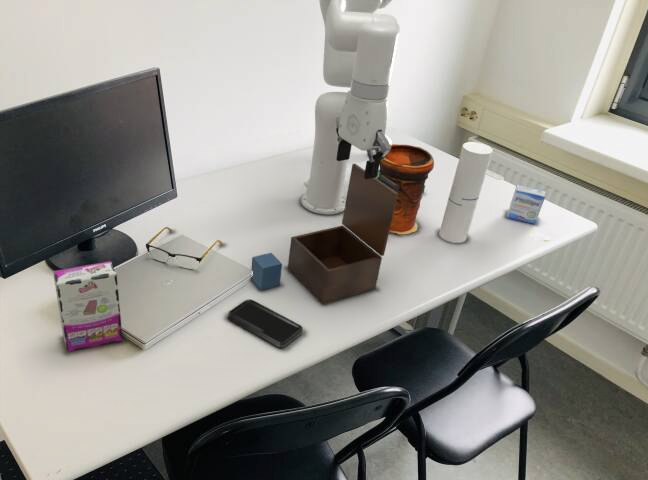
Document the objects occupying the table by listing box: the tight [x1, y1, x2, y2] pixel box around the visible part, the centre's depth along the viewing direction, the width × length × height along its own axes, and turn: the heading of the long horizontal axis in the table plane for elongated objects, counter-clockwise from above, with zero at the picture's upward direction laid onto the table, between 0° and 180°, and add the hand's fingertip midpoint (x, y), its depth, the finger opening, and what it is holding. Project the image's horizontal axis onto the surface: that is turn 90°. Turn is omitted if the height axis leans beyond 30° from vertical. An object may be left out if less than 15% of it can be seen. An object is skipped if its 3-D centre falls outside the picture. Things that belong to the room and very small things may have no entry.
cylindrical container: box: [438, 141, 494, 244], centre depth 167 cm, size 7×7×25 cm
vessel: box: [379, 143, 435, 236], centre depth 172 cm, size 14×14×20 cm
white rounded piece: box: [372, 134, 393, 155], centre depth 211 cm, size 10×7×7 cm
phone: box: [227, 299, 303, 349], centre depth 138 cm, size 8×1×15 cm
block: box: [250, 252, 283, 291], centre depth 150 cm, size 5×5×6 cm
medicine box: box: [506, 184, 547, 225], centre depth 183 cm, size 8×4×9 cm, turn 68°
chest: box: [287, 224, 383, 305], centre depth 152 cm, size 15×16×9 cm
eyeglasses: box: [145, 226, 224, 263], centre depth 158 cm, size 14×14×4 cm
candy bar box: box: [52, 261, 123, 353], centre depth 126 cm, size 11×5×16 cm, turn 114°
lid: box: [341, 163, 399, 257], centre depth 148 cm, size 16×16×6 cm
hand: (356, 168), depth 140 cm, fingers open, 9 cm apart
